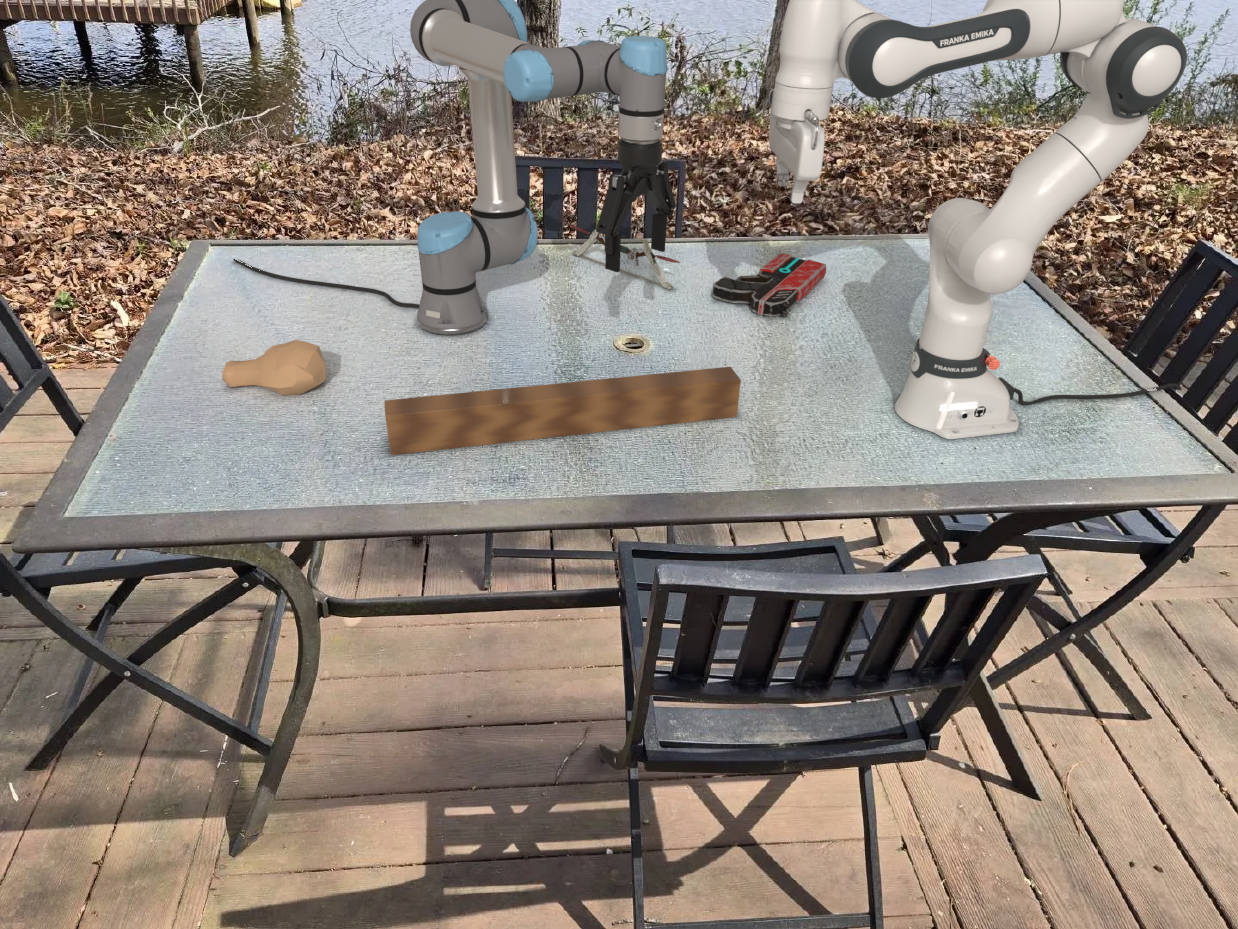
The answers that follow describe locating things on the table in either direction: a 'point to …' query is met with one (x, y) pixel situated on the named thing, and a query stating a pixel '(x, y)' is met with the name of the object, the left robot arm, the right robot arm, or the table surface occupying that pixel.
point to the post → (559, 409)
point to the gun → (772, 285)
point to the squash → (280, 369)
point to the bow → (631, 253)
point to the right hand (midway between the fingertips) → (788, 193)
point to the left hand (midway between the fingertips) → (635, 259)
